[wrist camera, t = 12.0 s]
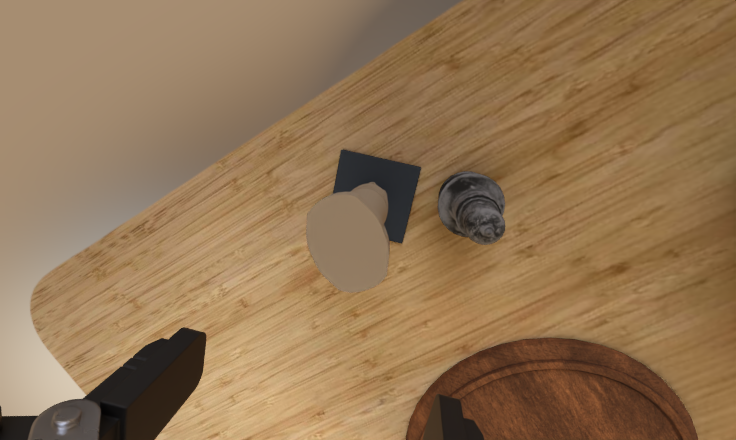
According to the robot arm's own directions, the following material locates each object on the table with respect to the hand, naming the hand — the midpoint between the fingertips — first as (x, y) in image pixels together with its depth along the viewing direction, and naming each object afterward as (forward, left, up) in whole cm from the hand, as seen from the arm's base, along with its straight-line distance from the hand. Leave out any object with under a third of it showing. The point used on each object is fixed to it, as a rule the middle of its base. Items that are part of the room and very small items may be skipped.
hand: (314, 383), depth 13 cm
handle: (-1, -1, -27) cm, 27 cm away
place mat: (-1, -1, -27) cm, 27 cm away
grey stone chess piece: (-3, +8, -27) cm, 28 cm away
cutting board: (+25, +25, -27) cm, 45 cm away
